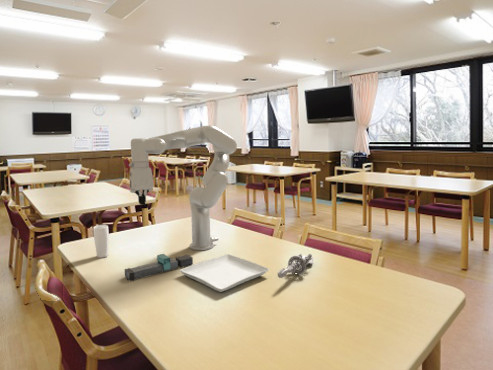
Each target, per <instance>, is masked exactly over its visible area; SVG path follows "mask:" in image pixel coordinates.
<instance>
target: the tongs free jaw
mask: <svg viewBox="0 0 493 370" xmlns="http://www.w3.org/2000/svg"><path fill="white" fill-rule="evenodd" d="M172 260H176V259H174V258H173V257H172V258H171V257H170V261H172ZM156 264H160V262H157V261H156V262H152V263H147V264H143V265H139V266H134V267H131V268H130V267H128V268H125V269H124V277H125V278H126V279H127V271H130V270H135V269H140V268H144V267H148V266H152V265H156Z"/></svg>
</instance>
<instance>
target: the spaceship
mask: <svg viewBox="0 0 493 370" xmlns="http://www.w3.org/2000/svg"><path fill="white" fill-rule="evenodd" d="M313 262H314V258H313V254H311V253H308V255H302V253H300V254H298V255H293V256H291V257H289V259H288V263H287V267H285V268H281V269H280V270H278V271H277V277H278V278H279V279H283V278H285V277H286V276H287V274H288V273H290V274H291V275H295V274H294V273H297V274H300V275H303V274H304V272H305V271H306V270H307V269H306V268H307V267H306V266H307V265H310V264H313Z"/></svg>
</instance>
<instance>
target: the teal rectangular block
mask: <svg viewBox="0 0 493 370" xmlns="http://www.w3.org/2000/svg"><path fill="white" fill-rule="evenodd" d="M156 257H157V259H156V260H157V261H156V262H160V263H162V264H163V268H164V270H168V269H171V268H170V259H171V257H169V256H168V255H166V254H165V253H162V254H158V255H157V256H156Z"/></svg>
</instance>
